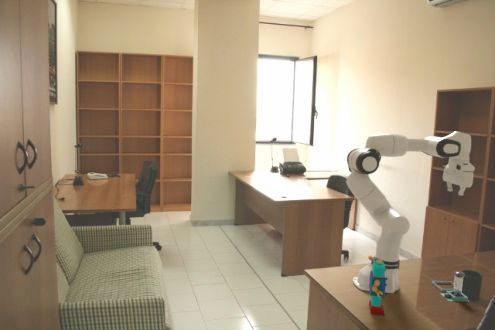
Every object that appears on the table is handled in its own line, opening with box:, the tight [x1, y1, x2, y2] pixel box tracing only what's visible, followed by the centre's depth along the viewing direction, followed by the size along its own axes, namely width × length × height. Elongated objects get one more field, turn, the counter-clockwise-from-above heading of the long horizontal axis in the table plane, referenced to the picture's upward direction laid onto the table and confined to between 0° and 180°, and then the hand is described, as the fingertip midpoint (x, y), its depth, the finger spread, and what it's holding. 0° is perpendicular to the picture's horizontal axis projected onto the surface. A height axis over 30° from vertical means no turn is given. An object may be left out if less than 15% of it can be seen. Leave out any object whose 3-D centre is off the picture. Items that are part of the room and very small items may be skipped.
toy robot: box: [368, 255, 386, 316], centre depth 178 cm, size 12×6×25 cm, turn 168°
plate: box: [439, 291, 470, 302], centre depth 194 cm, size 10×8×2 cm
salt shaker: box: [452, 270, 466, 297], centre depth 193 cm, size 4×4×12 cm
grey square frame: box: [431, 280, 454, 293], centre depth 205 cm, size 10×10×2 cm
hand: (455, 193), depth 202 cm, fingers open, 8 cm apart
